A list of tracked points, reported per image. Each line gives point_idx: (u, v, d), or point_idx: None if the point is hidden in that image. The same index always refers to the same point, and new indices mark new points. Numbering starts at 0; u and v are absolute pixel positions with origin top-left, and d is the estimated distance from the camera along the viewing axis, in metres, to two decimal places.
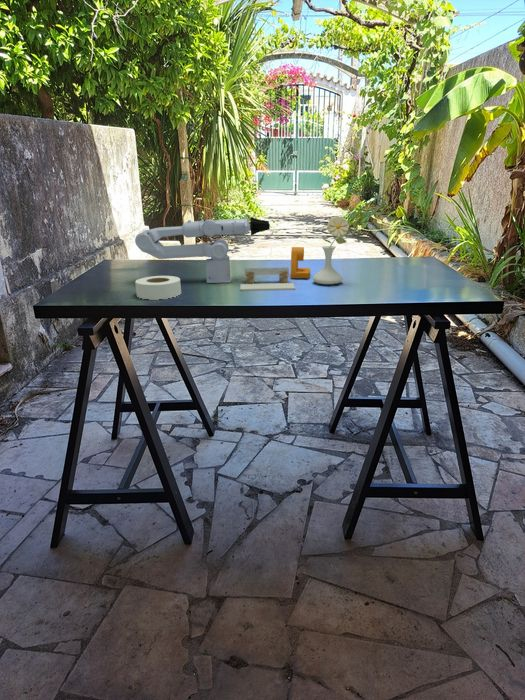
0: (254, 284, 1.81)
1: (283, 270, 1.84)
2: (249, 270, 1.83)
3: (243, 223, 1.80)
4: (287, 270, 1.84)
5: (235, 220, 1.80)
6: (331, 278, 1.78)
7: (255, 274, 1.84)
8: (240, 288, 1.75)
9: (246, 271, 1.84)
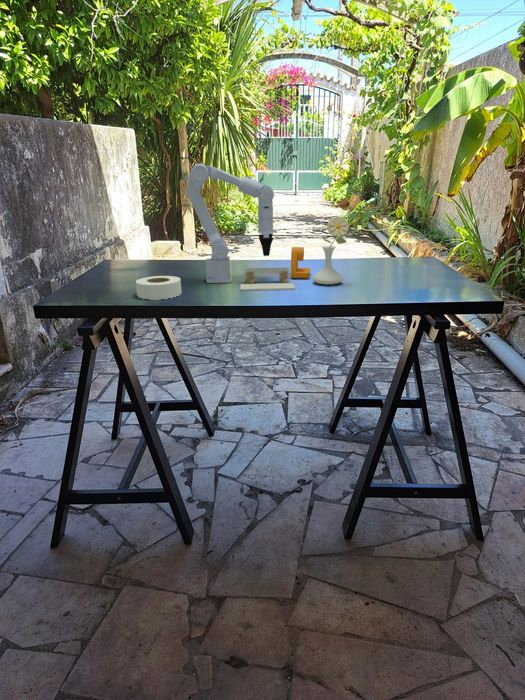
0: (254, 284, 1.81)
1: (283, 270, 1.84)
2: (249, 270, 1.83)
3: (269, 229, 1.83)
4: (287, 270, 1.84)
5: (271, 221, 1.82)
6: (331, 278, 1.78)
7: (255, 274, 1.84)
8: (240, 288, 1.75)
9: (246, 271, 1.84)
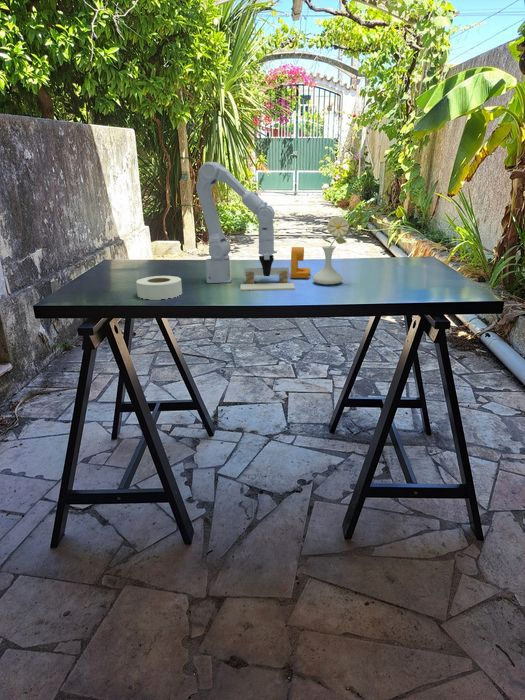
0: (254, 284, 1.81)
1: (283, 270, 1.84)
2: (249, 270, 1.83)
3: (270, 250, 1.80)
4: (287, 270, 1.84)
5: (272, 242, 1.79)
6: (331, 278, 1.78)
7: (255, 274, 1.84)
8: (240, 288, 1.75)
9: (246, 271, 1.84)
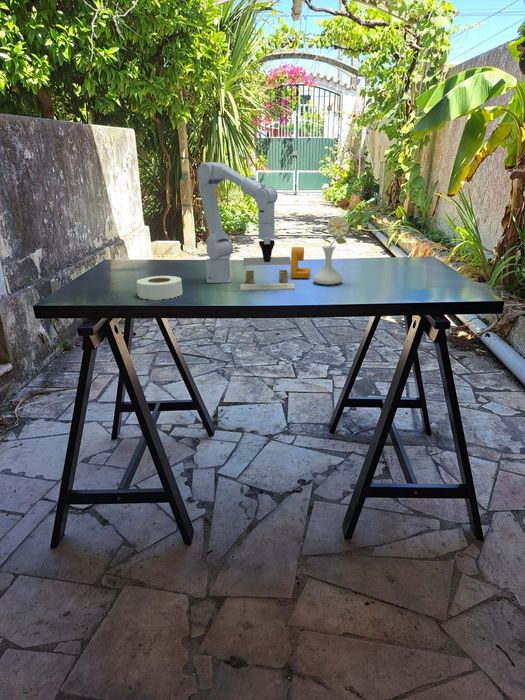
0: (254, 284, 1.81)
1: (284, 259, 1.73)
2: (248, 259, 1.73)
3: (270, 234, 1.69)
4: (289, 259, 1.73)
5: (273, 225, 1.69)
6: (331, 278, 1.78)
7: (255, 264, 1.74)
8: (240, 288, 1.75)
9: (245, 261, 1.73)
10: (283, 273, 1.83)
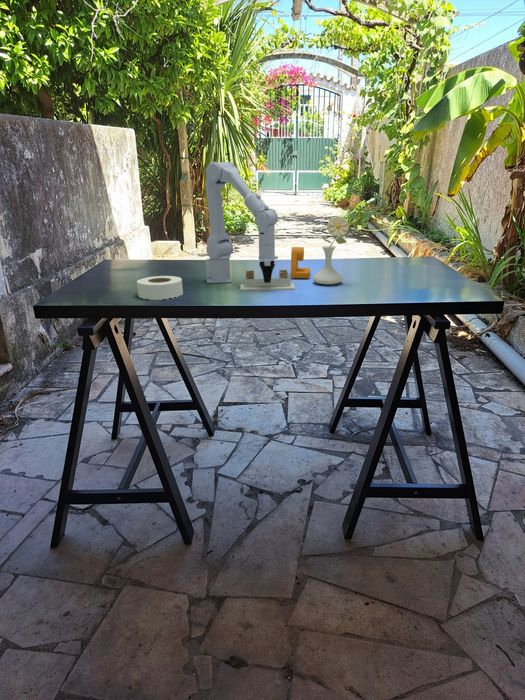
0: None
1: (284, 281, 1.76)
2: (249, 281, 1.76)
3: (270, 256, 1.71)
4: (289, 281, 1.76)
5: (273, 247, 1.71)
6: (331, 278, 1.78)
7: (255, 285, 1.76)
8: (240, 288, 1.75)
9: (246, 282, 1.76)
10: (283, 273, 1.83)
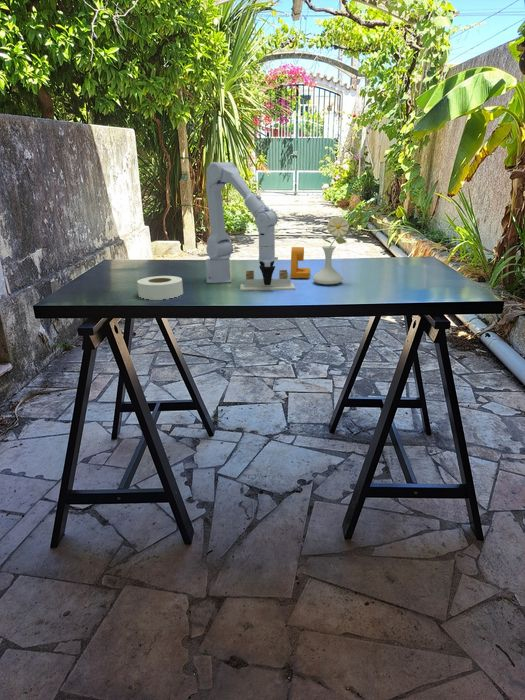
0: None
1: (284, 281, 1.76)
2: (249, 281, 1.76)
3: (270, 257, 1.72)
4: (289, 281, 1.76)
5: (273, 248, 1.71)
6: (331, 278, 1.78)
7: (255, 285, 1.77)
8: (240, 288, 1.75)
9: (246, 282, 1.76)
10: (283, 273, 1.83)
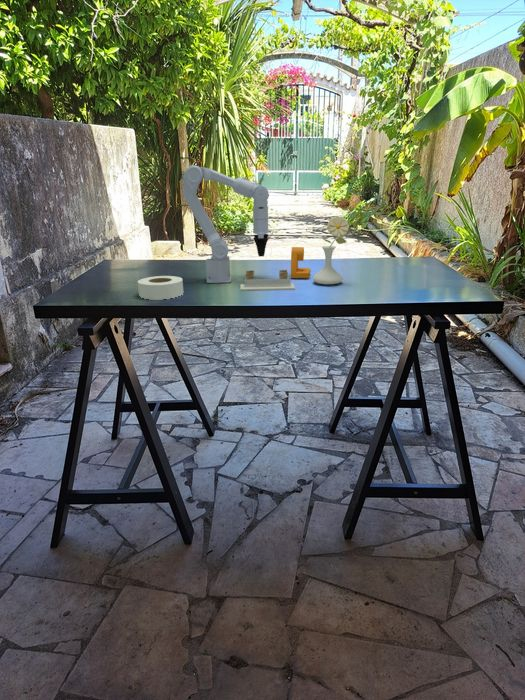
0: None
1: (284, 281, 1.76)
2: (249, 281, 1.76)
3: (264, 229, 1.82)
4: (289, 281, 1.76)
5: (266, 221, 1.82)
6: (331, 278, 1.78)
7: (255, 285, 1.77)
8: (240, 288, 1.75)
9: (246, 282, 1.76)
10: (283, 273, 1.83)
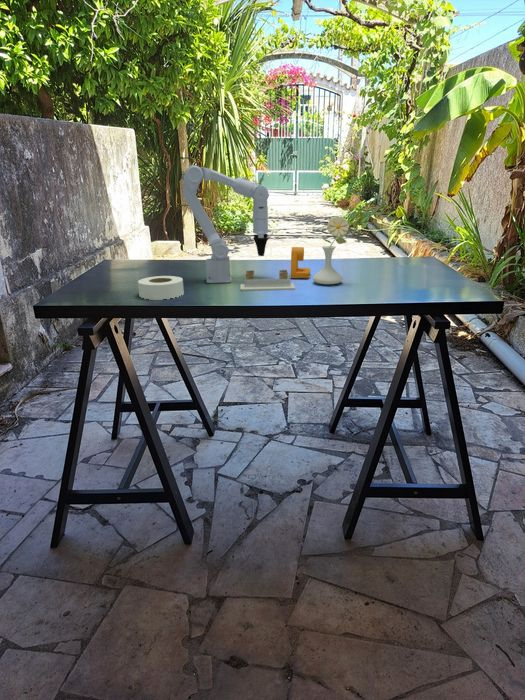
0: None
1: (284, 281, 1.76)
2: (249, 281, 1.76)
3: (264, 229, 1.83)
4: (289, 281, 1.76)
5: (266, 221, 1.82)
6: (331, 278, 1.78)
7: (255, 285, 1.77)
8: (240, 288, 1.75)
9: (246, 282, 1.76)
10: (283, 273, 1.83)
